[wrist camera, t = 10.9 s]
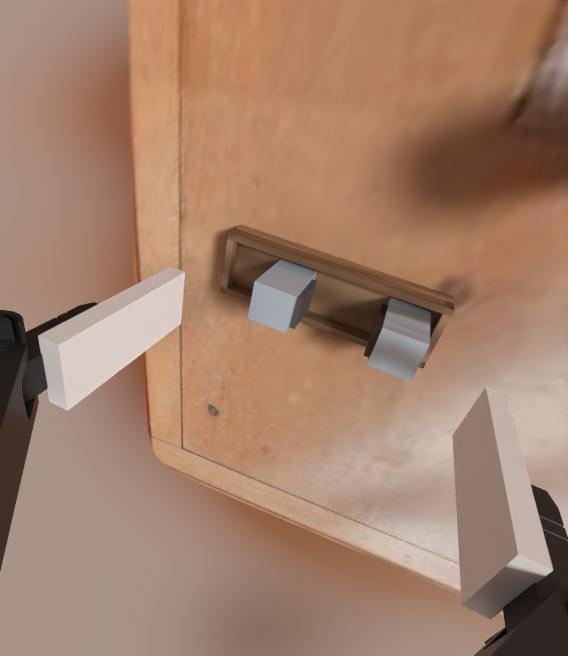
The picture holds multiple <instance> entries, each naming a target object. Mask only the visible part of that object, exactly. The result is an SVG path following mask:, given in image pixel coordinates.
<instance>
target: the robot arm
mask: <svg viewBox="0 0 568 656" xmlns="http://www.w3.org/2000/svg"><path fill="white" fill-rule="evenodd" d="M184 279H185V272H183V271H180V270H178V269H175V268H173V267H169V268H167V269H165V270H163V271H161V272H159V273H157V274H155V275H153V276H151V277H149V278H147V279H146V280H144V281H142V282H140V283H138V284H136V285H134V286H132V287H130V288H128V289H126V290H124V291H123V292H121V293H119V294H117V295H115V296H113V297H111V298H109V299H107V300H105V301H103V302H102V303H100V304H97V303H95V302H94V303H89V304H84V305H80V306H78V307H76V308H74V309H72V310H70V311H68V312H67V313H64V314H62V315H60V316H58V317H57V318H54V319H52V320H50V321H48V322H46V323H44V324H41V325H40V326H37V327H36V328H33V329H31V330H29V331H27V332H25V327H24V322H23V318H22V316H21V315H20V314H18V313H15V312H13V311H5V310H0V570H1V566H2V561H3V557H4V553H5V548H6V544H7V539H8V535H9V531H10V526H11V522H12V517H13V513H14V509H15V504H16V500H17V495H18V491H19V487H20V482H21V478H22V474H23V469H24V464H25V460H26V456H27V452H28V447H29V443H30V438H31V434H32V430H33V424H34V421H35V416H36V412H37V408H38V403H39V401H38V394H40V393H41V392H43V391H44V390H46V389H47V391H48V397H49V402H51V403H53V404H55V405H57V406H59V407H61V408H63V409H65V410H69V409H70V408H72V407H73V406H74V405H75V404H77V403H78V402H79V401H81V400H82V399H83V398H85V397H86V396H87V395H89V394H90V393H91V392H93V391H94V390H95V389H96V388H98V387H99V386H100V385H102V384H103V383H104V382H106V381H107V380H108V379H110V378H111V377H112V376H113V375H115V374H116V373H117V372H118V371H120V370H121V369H123V367H125V366H126V365H128V364H129V363H130V362H132V361H133V360H134V359H135V358H137V357H138V356H139V355H141V354H142V353H143V352H145V351H146V350H147V349H149V348H150V347H151V346H153V345H154V344H155V343H156V342H158V341H159V340H160V339H162V338H163V337H164V336H166V335H167V334H168V333H169V332H171V331H172V330H173V329H175V328H176V327H177V326H179V325H180V324H181V317H182V305H183V292H184ZM453 451H454V469H455V487H456V506H457V524H458V543H459V561H460V579H461V598H462V605H463V606H465V607H467V608H469V609H471V610H473V611H475V612H477V613H479V614H481V615H483V616H485V617H487V618H489V619H492V618H493V617H494V616H496V615H497V614H498V613H499V612H501V611H502V610H503V613H504V620H505V628H503V629H502V630H501V631H499V632H498V633H496V634H495V635H494V636H492V637H491V638H490V639H488V640H487V641H485V644H486V645H485V646H484V647H483V648H482V649H481V650H480V651H478V653H476V654H475V655H474V656H568V537H567V534H566V530H565V528H563V526H564V524H563V521H562V518H561V515H560V512H559V509H558V507H557V506H556V504H555V503H554V501H553V500H552V498H551V497H550V495H549V494H548V492H547V491H545V490H543V489H541V488H538V487H536V486H533V485H531V484H530V481H529V477H528V473H527V469H526V465H525V462H524V458H523V454H522V450H521V447H520V443H519V439H518V435H517V432H516V428H515V424H514V420H513V417H512V413H511V409H510V405H509V401H508V398H507V395H506V394H503V393H501V392H498V391H495V390H493V389H490V388H488V387H486V388H485V389H484V390H483V392H482V393H481V395H480V396H479V398H478V399H477V401H476V402H475V404H474V405H473V406H472V408H471V409H470V411H469V412H468V414H467V415H466V417H465V418H464V420H463V421H462V423H461V424H460V425H459V427H458V428H457V430H456V431H455V433H454V434H453Z"/></svg>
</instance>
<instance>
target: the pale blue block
mask: <svg viewBox="0 0 568 656" xmlns="http://www.w3.org/2000/svg"><path fill="white" fill-rule="evenodd" d="M316 273H317V271H316V270H314V269H311V268H308V267H305V266H302V265H299V264H296V263H294V262H291V261H288V260H285V259H281V260H279V261H278V262H277V263H276V264H275V265H273V266H272V267H271V268H270V269H269V270H268V271H266V272H265V273H264V274H263V275H262V276H260V277H259V278H258V279H257V280H256V281H255V282H254V287H253V293H252V298H251V303H250V308H249V313H248V319H250V320H253V321H255V322H258V323H260V324H263V325H265V326H268V327H270V328H273V329H276V330H278V331H281V332H283V333H287V331H288V330H289V329H290V328H293V329H295V327H296V326H297V325H298V323H299V322H300V320H301V319H302V317H303V316H304V315H305V313H306V312H307V310H308V309H309V307H310V304H311V300H312V297H313V293H314V290H315V287H316V283H317V281H316V280H315V277H316Z"/></svg>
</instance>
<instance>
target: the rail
mask: <svg viewBox="0 0 568 656" xmlns="http://www.w3.org/2000/svg"><path fill="white" fill-rule="evenodd" d="M281 259H285V260H288V261H291V262H294V263H296V264H299V265H302V266H305V267H308V268H311V269H314V270H316V271H317V273H316V277H315V280H316V281H317V283H316V287H315V290H314V293H313V297H312V300H311V304H310V307H309V309H308V310H307V312H306V313H305V315H304V316H303V317H302V319H301V320H300V322H302V323H304V324H307V325H310V326H312V327H315V328H318V329H320V330H323V331H325V332H328V333H331V334H333V335H336V336H339V337H341V338H344V339H347V340H349V341H352V342H354V343H357V344H360V345H362V346H365V347H366V350H365V353H364V356H366V357H369V359H368V362H367V365H369V366H372V367H374V368H377V369H379V370H382V371H384V372H387V373H390V374H392V375H395V376H397V377H400V378H402V379H405V380H407V381H410V382H411V380H412V378H413V376H414V374H415V372H416V371H417V369H418V367H420V368H424V366H425V364H426V362H427V360H428V358H429V356H430V354H431V353H432V351H433V349H434V347H435V345H436V343H437V341H438V340H439V338H440V336H441V334H442V332H443V330H444V328H445V327H446V325H447V323H448V321H449V319H450V317H451V315H452V313H453V312H454V298H453V296H450V295H447V294H444V293H441V292H438V291H436V290H433V289H430V288H427V287H424V286H421V285H418V284H415V283H412V282H409V281H406V280H403V279H400V278H397V277H394V276H391V275H388V274H385V273H382V272H379V271H376V270H373V269H370V268H368V267H365V266H362V265H359V264H356V263H353V262H350V261H347V260H344V259H341V258H338V257H335V256H332V255H329V254H326V253H323V252H320V251H317V250H314V249H311V248H308V247H305V246H302V245H300V244H297V243H294V242H291V241H288V240H285V239H282V238H279V237H276V236H273V235H270V234H267V233H264V232H261V231H258V230H255V229H252V228H249V227H246V226H243V225H240V226H238V227H236V229H234V230H232V231H230V232H228V237H227V244H226V252H225V259H224V266H223V273H222V281H221V288H220V292H223V293H225V294H228V295H231V296H233V297H236V298H239V299H241V300H244V301H247V302H249V303H251V298H252V293H253V287H254V282H255V281H256V280H257V279H258V278H259V277H260V276H262V275H263V274H264V273H265V272H266V271H268V270H269V269H270V268H271V267H272V266H273V265H275V264H276V263H277V262H278V261H279V260H281Z"/></svg>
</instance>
